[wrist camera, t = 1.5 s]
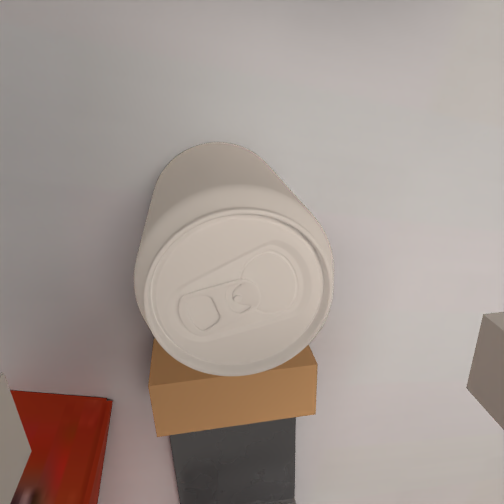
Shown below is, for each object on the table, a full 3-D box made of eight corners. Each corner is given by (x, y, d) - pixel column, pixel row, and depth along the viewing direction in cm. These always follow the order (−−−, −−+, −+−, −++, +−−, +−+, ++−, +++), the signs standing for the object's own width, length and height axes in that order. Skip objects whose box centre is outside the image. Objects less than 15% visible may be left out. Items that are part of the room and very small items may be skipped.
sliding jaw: (153, 338, 28) (148, 386, 23) (298, 322, 29) (317, 364, 25) (160, 384, 29) (157, 437, 25) (297, 367, 30) (315, 414, 26)
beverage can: (294, 236, 28) (366, 342, 17) (184, 280, 28) (184, 413, 17) (256, 120, 24) (313, 159, 13) (129, 169, 24) (85, 248, 14)
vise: (150, 295, 28) (141, 351, 22) (293, 280, 29) (319, 330, 23) (187, 535, 38) (187, 614, 33) (290, 517, 40) (308, 590, 34)
